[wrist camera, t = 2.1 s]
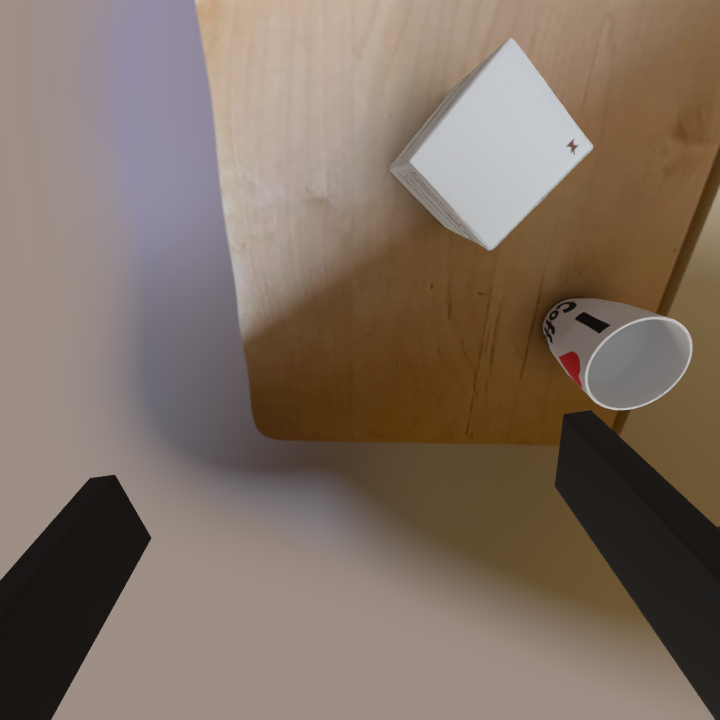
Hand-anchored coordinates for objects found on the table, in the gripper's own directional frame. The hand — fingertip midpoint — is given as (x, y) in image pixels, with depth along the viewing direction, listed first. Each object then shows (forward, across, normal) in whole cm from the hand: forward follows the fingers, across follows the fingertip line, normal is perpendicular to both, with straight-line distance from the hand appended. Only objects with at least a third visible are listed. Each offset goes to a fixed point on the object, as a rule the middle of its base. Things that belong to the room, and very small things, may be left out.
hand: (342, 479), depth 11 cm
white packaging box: (+26, -10, -8) cm, 29 cm away
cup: (+26, -22, +8) cm, 35 cm away
